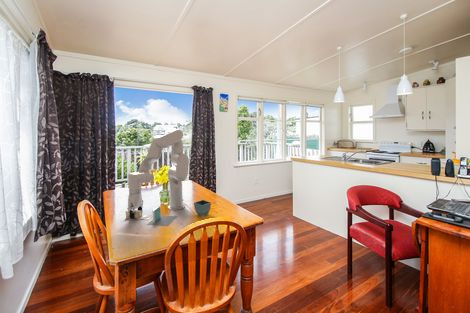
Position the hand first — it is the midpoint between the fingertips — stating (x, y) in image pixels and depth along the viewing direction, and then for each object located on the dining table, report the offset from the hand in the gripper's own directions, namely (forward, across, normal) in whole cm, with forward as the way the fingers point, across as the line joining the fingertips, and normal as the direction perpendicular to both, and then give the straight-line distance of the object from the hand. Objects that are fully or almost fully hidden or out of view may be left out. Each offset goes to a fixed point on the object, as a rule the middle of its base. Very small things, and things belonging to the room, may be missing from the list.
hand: (136, 215), depth 152 cm
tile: (+1, +3, +16) cm, 16 cm away
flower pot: (+1, -11, +43) cm, 45 cm away
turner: (+2, 0, +2) cm, 2 cm away
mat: (+1, +3, +20) cm, 20 cm away
